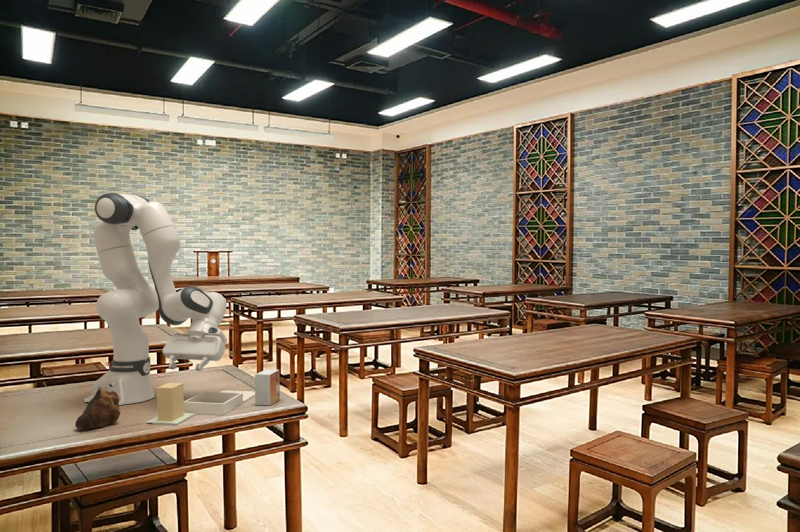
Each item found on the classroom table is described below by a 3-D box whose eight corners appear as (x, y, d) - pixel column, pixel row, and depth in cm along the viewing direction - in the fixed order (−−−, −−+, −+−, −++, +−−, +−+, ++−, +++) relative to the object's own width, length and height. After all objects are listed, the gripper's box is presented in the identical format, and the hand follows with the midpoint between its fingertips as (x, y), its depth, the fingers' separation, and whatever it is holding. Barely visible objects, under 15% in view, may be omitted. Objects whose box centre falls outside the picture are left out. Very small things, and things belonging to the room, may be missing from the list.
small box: (270, 406, 181) (269, 374, 181) (254, 405, 182) (254, 374, 182) (280, 399, 189) (280, 369, 188) (265, 398, 190) (265, 368, 190)
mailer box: (182, 412, 174) (182, 402, 174) (222, 391, 200) (222, 382, 200) (224, 414, 171) (223, 403, 171) (259, 392, 197) (259, 383, 197)
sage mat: (146, 423, 163) (146, 421, 163) (166, 413, 173) (166, 412, 173) (176, 425, 162) (176, 423, 162) (195, 415, 171) (195, 413, 171)
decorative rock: (116, 419, 168) (115, 384, 167) (124, 423, 164) (123, 388, 163) (73, 429, 159) (72, 392, 158) (81, 433, 155) (80, 396, 154)
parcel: (157, 420, 165) (157, 387, 164) (169, 414, 171) (168, 382, 170) (172, 421, 164) (172, 388, 164) (184, 415, 170) (183, 383, 170)
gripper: (169, 327, 184) (151, 362, 175) (225, 329, 181) (209, 365, 171) (176, 338, 189) (159, 372, 180) (231, 341, 185) (217, 376, 176)
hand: (184, 369), depth 175 cm, fingers open, 8 cm apart
